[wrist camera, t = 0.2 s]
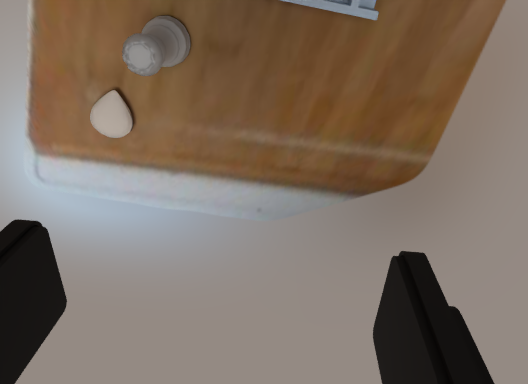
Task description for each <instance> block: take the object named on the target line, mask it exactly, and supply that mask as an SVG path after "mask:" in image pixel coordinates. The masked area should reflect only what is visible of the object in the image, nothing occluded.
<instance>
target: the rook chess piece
mask: <svg viewBox="0 0 528 384" xmlns="http://www.w3.org/2000/svg"><path fill="white" fill-rule="evenodd" d="M190 46H191V45H190V37H189V34H188V32H187V30H186V28H185V26H184V25H183V24H181V23H180V22H179V21H178V20H177V19H175V18H173V17H170V16H157V17H155V18H154V19H152V20H150V21H149V22H147V24H146V25H145V27H144V28H143V30H142V33H141V34H133V35H131V36H130V37H128V38H127V40H126V41H125V42H124V45H123V50H122V53H123V55H122V56H123V61H125V62H126V64H127V66H128V67H127V68H128V69H130V70H131V71H132V72H134V73H136V74H139V75H141V76H151V75H153V74H155V73H157V72H158V71H159V70H160V68H161V67H173V66H175V65H177V64H179V63H181V62H183V61H184V59H185V58H186V57H187V56H188V54H189V50H190Z"/></svg>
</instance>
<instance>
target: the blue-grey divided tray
mask: <svg viewBox="0 0 528 384" xmlns="http://www.w3.org/2000/svg"><path fill="white" fill-rule="evenodd" d="M281 1H286V2H291V3H296V4H301V5H305V6H310V7H315V8H320V9H325V10H329V11H334V12H339V13H344V14H349V15H353V16H358V17H363V18H368V19H372V20H377V17H378V13H379V12H378V11H376V10H375V9H374V6H375V3H376V0H281Z"/></svg>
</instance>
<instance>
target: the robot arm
mask: <svg viewBox="0 0 528 384" xmlns="http://www.w3.org/2000/svg"><path fill="white" fill-rule="evenodd" d="M66 302H67V300H66V296H65V292H64V288H63V284H62V281H61V277H60V273H59V270H58V266H57V262H56V259H55V255H54V252H53V248H52V244H51V241H50V237H49V233H48V231H47V229H46V228H45V227H43V226H42V224H41V223H40V222H38V221H29V220H14V221H12V222H11V223H10V224H8V225H7V226H6V227H5V228H4V229H3V230H2V231H1V232H0V384H15V382H16V381H17V379H18V378H19V376H20V375H21V373H22V372H23V371H24V369H25V368H26V366H27V365H28V363H29V362H30V360H31V359H32V358H33V356H34V355H35V353H36V352H37V350H38V349H39V347H40V346H41V344H42V343H43V342H44V340H45V338H46V337H47V336H48V334H49V333H50V331H51V330H52V328H53V327H54V326H55V324H56V323H57V321H58V320H59V318H60V317H61V315H62V314H63V312H64V310H65V308H66ZM373 339H374V345H375V350H376V355H377V360H378V365H379V370H380V374H381V380H382V384H494V382H493V380H492V378H491V376H490V374H489V372H488V370H487V367H486V365H485V363H484V361H483V359H482V357H481V355H480V353H479V351H478V348H477V346H476V344H475V342H474V340H473V338H472V336H471V334H470V332H469V330H468V328H467V325H466V323H465V321H464V319H463V317H462V315H461V314H460V311H459V310H458V309H457V308H456V307H453V306H448V303H447V301H446V299H445V297H444V294H443V292H442V290H441V288H440V285H439V283H438V281H437V279H436V277H435V274H434V272H433V270H432V268H431V265H430V263H429V261H428V259H427V257H426V255H425V254H424V253H419V252H406V251H401V252H400V254H399V256H393V257H392V259H391V262H390V266H389V270H388V274H387V278H386V282H385V285H384V289H383V293H382V297H381V301H380V305H379V308H378V312H377V316H376V320H375V324H374V328H373Z"/></svg>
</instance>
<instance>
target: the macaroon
mask: <svg viewBox="0 0 528 384" xmlns="http://www.w3.org/2000/svg"><path fill="white" fill-rule="evenodd" d="M90 121H91V123H92V125H93V127H94V128H95V129H96V130H98V131H99V132H100V133H102V134H103V135H106V136H108V137H113V138H119V137H123V136H125V135H127V134H128V133H129V132H130V131H131V130H132V127H133V118H132V115H131V112H130V110H129V108H128V106H127V104H126V103H125V102H124V100H123V99H122V98H121V97H120V95H119V94H118V93H117V92H116V91H115V90H112V91H110V92H108V93H107V94H105V95H104V96H103V97H101V98H100V99H99V100H98V101H97V102H96V103H95V105H94V106H93V107H92V110H91V115H90Z"/></svg>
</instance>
